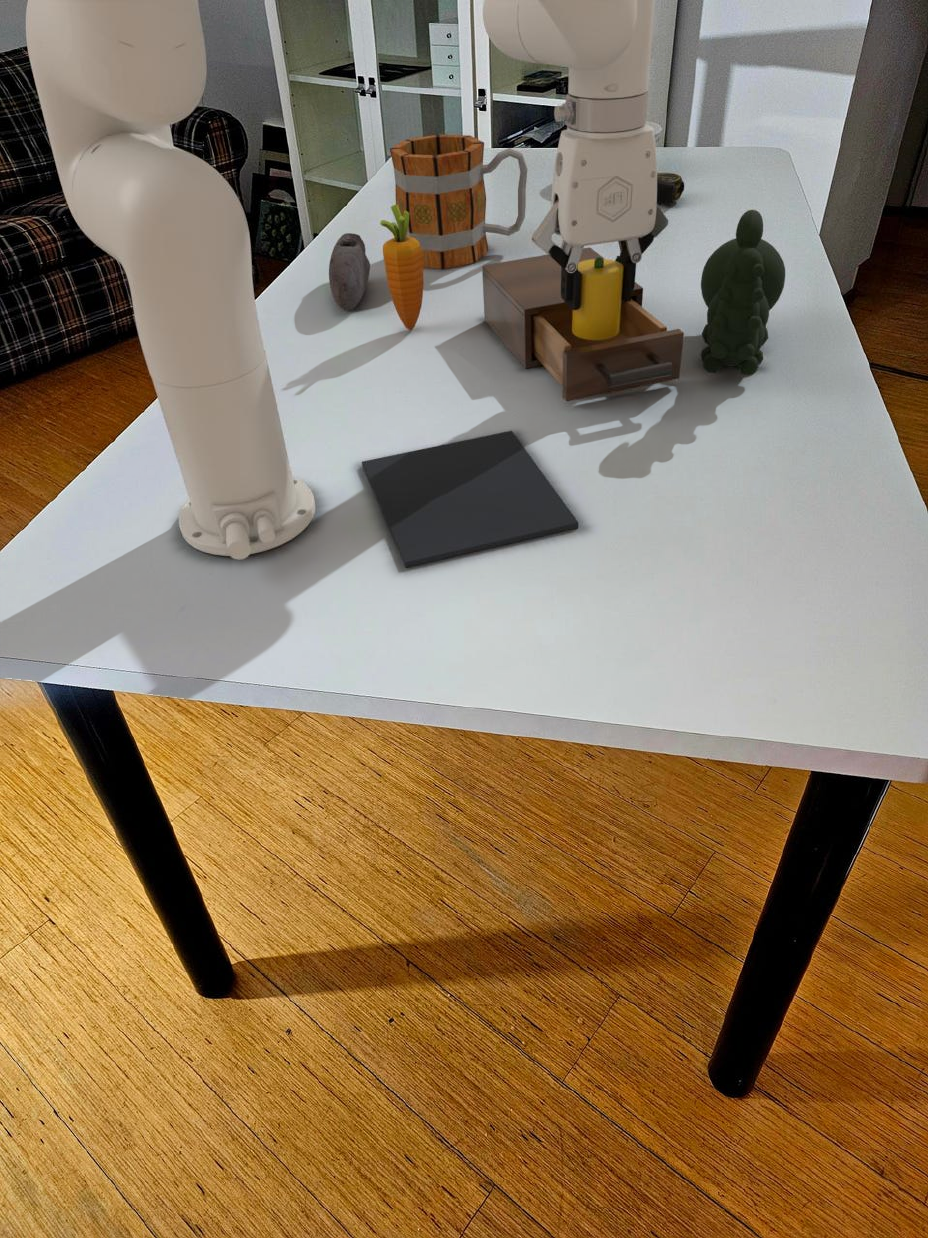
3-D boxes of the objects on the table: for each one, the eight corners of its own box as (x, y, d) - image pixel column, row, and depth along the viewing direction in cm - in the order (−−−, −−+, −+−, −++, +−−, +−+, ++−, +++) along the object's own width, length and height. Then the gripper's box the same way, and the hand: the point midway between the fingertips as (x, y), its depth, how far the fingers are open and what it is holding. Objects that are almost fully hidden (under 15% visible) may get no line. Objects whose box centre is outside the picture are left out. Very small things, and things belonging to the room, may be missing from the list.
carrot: (424, 338, 112) (412, 213, 103) (387, 337, 113) (371, 214, 104) (433, 322, 116) (422, 200, 106) (396, 321, 117) (383, 201, 107)
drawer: (697, 394, 95) (703, 347, 91) (581, 419, 92) (582, 371, 89) (623, 330, 109) (626, 286, 105) (520, 349, 106) (519, 306, 103)
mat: (578, 527, 79) (578, 522, 79) (405, 567, 76) (404, 562, 76) (511, 435, 92) (511, 430, 92) (362, 466, 90) (361, 461, 89)
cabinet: (639, 346, 107) (643, 287, 102) (525, 368, 104) (524, 309, 100) (588, 301, 118) (590, 246, 114) (484, 320, 116) (481, 265, 111)
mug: (397, 271, 131) (385, 160, 121) (403, 241, 141) (392, 137, 132) (530, 263, 130) (529, 151, 120) (526, 234, 140) (525, 128, 131)
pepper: (626, 335, 97) (632, 261, 92) (582, 343, 96) (586, 268, 91) (607, 318, 101) (611, 246, 96) (564, 325, 100) (567, 253, 95)
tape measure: (633, 204, 149) (634, 180, 146) (651, 193, 153) (653, 169, 150) (670, 209, 145) (672, 185, 143) (688, 197, 149) (691, 173, 147)
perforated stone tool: (363, 319, 118) (355, 266, 114) (324, 321, 119) (315, 268, 114) (375, 278, 130) (369, 229, 125) (340, 280, 130) (332, 231, 125)
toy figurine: (769, 412, 96) (777, 303, 113) (801, 237, 83) (806, 142, 99) (680, 405, 99) (701, 299, 115) (697, 234, 85) (719, 142, 101)
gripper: (537, 131, 81) (535, 326, 92) (706, 110, 84) (684, 301, 96) (509, 116, 86) (511, 301, 98) (669, 97, 89) (653, 279, 101)
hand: (597, 299), depth 97 cm, fingers closed on pepper, 5 cm apart
